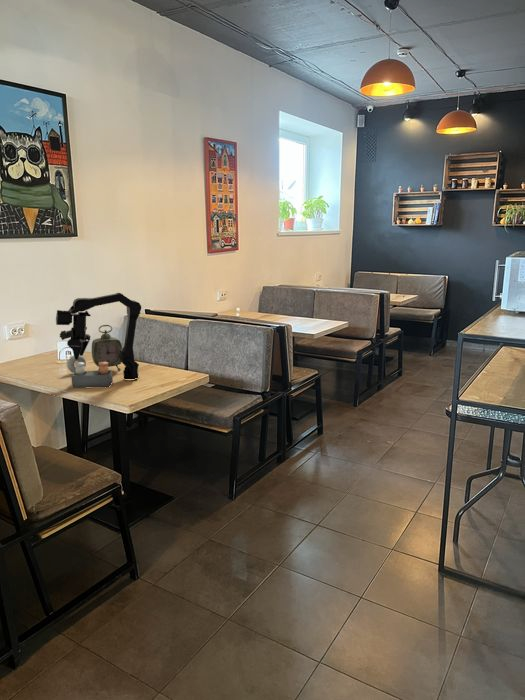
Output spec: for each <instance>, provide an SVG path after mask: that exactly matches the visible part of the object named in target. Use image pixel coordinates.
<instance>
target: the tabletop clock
mask: <svg viewBox="0 0 525 700" xmlns="http://www.w3.org/2000/svg"><path fill="white" fill-rule="evenodd" d="M102 327H109V328H110V330H108V331H107V330H106V329H105V330H104V331H101V328H102ZM112 331H113V327H112V326H111V325H109V324H103V325H100V326H99V327H98V332H100V333H101V335H100V338H95V339H93V340H92V342H91V358H92V361H93V364H95V366H96V367H98V368H99V362H108V368H109V367H116V369H117V372H120V371H121V369H122V368H120V367H119V365H121V364H122V362H121V361H120V358H119V357H118V356H119V354H120V351H119V350H120V349H123V345H122V342H121V340H120V339H118V338H117V337H112V336H111V335H110V332H112ZM97 371H99V369H98V370H97Z"/></svg>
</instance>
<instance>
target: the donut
mask: <svg viewBox="0 0 525 700" xmlns="http://www.w3.org/2000/svg"><path fill="white" fill-rule="evenodd" d="M77 362H84V363H85V365H84V369H85V368H86V365H87V364H86V363H87V361H86V358H85V357H84V355H83V356H80V355H79V357H78V359H77V360H75V357H74V354H73V355H72V356H70V357H69V358H68V361H67V365H66V367H67V369H68V370H69V371H70V372H71V373H73V374H74V373H75V372H76V367H75V363H77Z"/></svg>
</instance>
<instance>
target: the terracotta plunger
mask: <svg viewBox="0 0 525 700" xmlns="http://www.w3.org/2000/svg"><path fill="white" fill-rule="evenodd" d="M98 370H99V372H100V374H108V371H109V367H108V362H99V367H98Z"/></svg>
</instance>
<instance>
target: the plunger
mask: <svg viewBox="0 0 525 700" xmlns="http://www.w3.org/2000/svg"><path fill="white" fill-rule="evenodd" d="M84 365H85V363H84V362H79V361H76V362H75V363H74V366H75V367H76V375H85V371H86V370H85V368H84Z"/></svg>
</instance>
